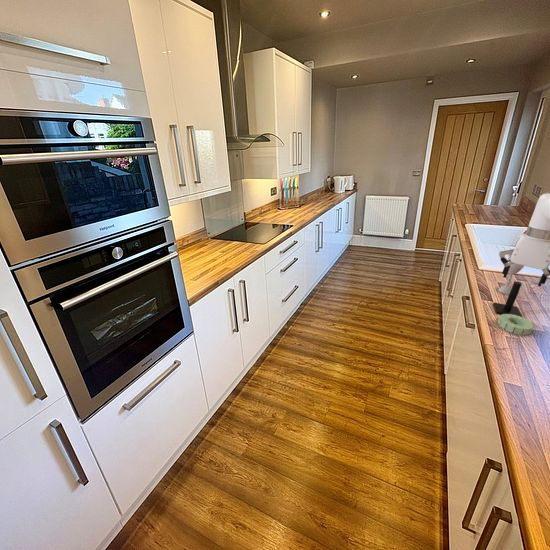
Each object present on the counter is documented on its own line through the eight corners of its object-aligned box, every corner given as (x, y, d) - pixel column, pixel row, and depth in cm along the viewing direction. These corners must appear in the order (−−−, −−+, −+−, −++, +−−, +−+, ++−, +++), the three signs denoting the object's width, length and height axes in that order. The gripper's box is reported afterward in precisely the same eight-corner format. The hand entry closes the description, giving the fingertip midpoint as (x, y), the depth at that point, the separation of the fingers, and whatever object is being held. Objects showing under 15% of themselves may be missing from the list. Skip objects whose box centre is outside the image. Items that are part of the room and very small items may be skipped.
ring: (526, 323, 110) (529, 317, 109) (534, 337, 102) (537, 331, 101) (495, 317, 114) (497, 311, 112) (500, 330, 106) (503, 324, 104)
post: (516, 308, 119) (527, 280, 114) (521, 318, 113) (534, 289, 107) (493, 304, 122) (503, 276, 117) (496, 313, 116) (507, 285, 110)
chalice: (495, 292, 132) (508, 255, 124) (495, 286, 137) (508, 250, 129) (515, 296, 128) (530, 258, 120) (514, 290, 133) (528, 254, 125)
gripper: (578, 236, 90) (555, 285, 98) (510, 225, 101) (494, 270, 109) (577, 242, 85) (553, 292, 93) (506, 230, 96) (489, 276, 104)
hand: (521, 280), depth 101 cm, fingers open, 9 cm apart
